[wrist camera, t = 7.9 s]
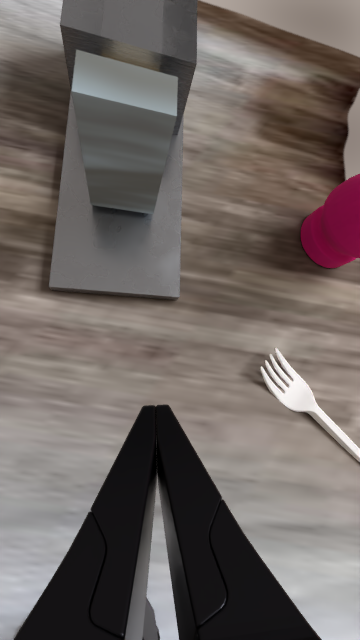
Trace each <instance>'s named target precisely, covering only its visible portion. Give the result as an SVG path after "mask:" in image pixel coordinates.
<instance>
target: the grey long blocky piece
mask: <svg viewBox="0 0 360 640" xmlns="http://www.w3.org/2000/svg"><path fill="white" fill-rule="evenodd" d="M60 27H61V33H62V39H63V45H64V51H65V57H66V63H67V68H68V74H69V80H70V86H71V94H70V103H69V112H68V121H67V130H66V139H65V148H64V157H63V165H62V174H61V183H60V192H59V201H58V210H57V219H56V228H55V237H54V245H53V254H52V263H51V272H50V281H49V287H50V288H51V290H55V291H68V292H81V293H93V294H106V295H119V296H132V297H144V298H157V299H170V300H177V299H178V298H179V297H180V251H181V205H182V159H183V114H184V109H185V106H186V102H187V98H188V94H189V90H190V86H191V83H192V79H193V75H194V71H195V67H196V58H197V0H63V6H62V13H61V21H60ZM76 50H80V51H84V52H87V53H91V54H95V55H98V56H102V57H106V58H109V59H113V60H117V61H120V62H124V63H128V64H131V65H135V66H139V67H142V68H146V69H150V70H153V71H157V72H161V73H165V74H168V75H172V76H176V77H178V90H177V117H176V122H175V126H174V130H173V134H172V138H171V143H170V147H169V151H168V155H167V159H166V164H165V168H164V172H163V176H162V180H161V185H160V189H159V193H158V197H157V202H156V206H155V210H154V214H148V213H141V212H135V211H128V210H121V209H115V208H108V207H101V206H95V205H91V204H90V198H89V192H88V186H87V180H86V174H85V168H84V162H83V156H82V150H81V144H80V138H79V132H78V126H77V120H76V114H75V108H74V102H73V96H72V83H73V74H74V65H75V57H76Z"/></svg>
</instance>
